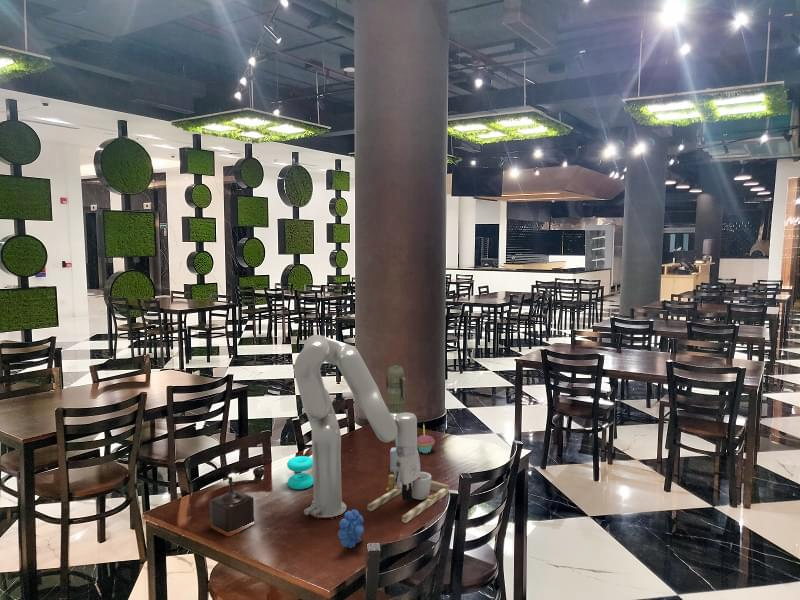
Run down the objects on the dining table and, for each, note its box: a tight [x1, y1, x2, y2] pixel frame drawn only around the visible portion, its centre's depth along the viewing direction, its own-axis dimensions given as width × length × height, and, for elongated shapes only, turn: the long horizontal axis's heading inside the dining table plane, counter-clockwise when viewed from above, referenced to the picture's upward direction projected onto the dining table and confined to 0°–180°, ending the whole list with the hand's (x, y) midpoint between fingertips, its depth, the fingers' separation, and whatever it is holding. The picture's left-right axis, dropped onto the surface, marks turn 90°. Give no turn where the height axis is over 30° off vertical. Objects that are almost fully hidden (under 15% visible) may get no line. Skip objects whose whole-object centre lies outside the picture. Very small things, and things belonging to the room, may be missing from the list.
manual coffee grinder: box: [208, 466, 266, 532], centre depth 186 cm, size 16×11×18 cm
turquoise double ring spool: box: [286, 455, 313, 490], centre depth 216 cm, size 10×10×10 cm
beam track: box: [367, 473, 450, 524], centre depth 202 cm, size 28×20×6 cm
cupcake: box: [417, 423, 436, 454], centre depth 250 cm, size 9×8×12 cm
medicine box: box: [389, 447, 396, 473], centre depth 229 cm, size 8×4×9 cm, turn 84°
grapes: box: [337, 509, 365, 549], centre depth 170 cm, size 12×7×12 cm, turn 150°
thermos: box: [385, 364, 407, 443], centre depth 265 cm, size 9×12×35 cm
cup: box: [411, 471, 432, 501], centre depth 204 cm, size 11×8×8 cm
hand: (407, 499), depth 200 cm, fingers closed
